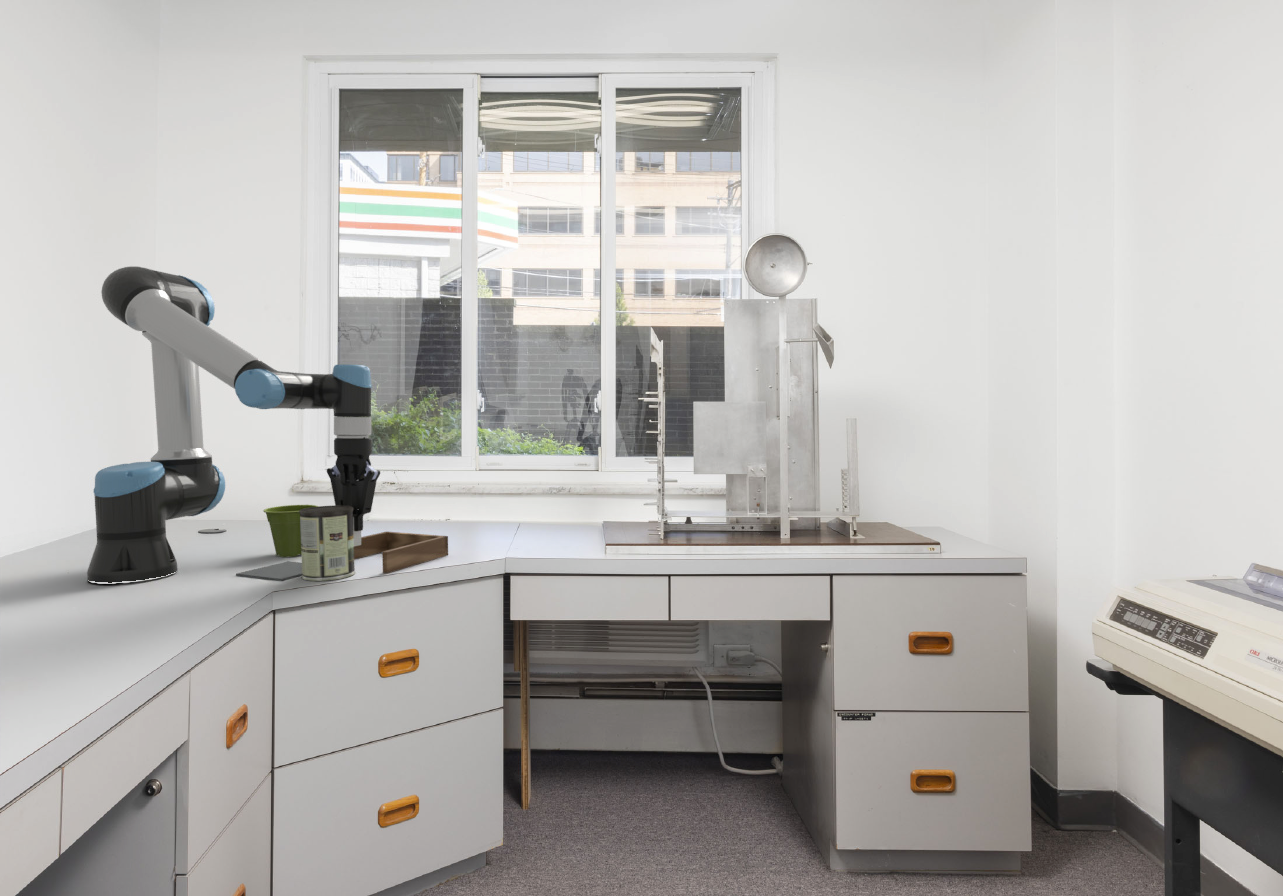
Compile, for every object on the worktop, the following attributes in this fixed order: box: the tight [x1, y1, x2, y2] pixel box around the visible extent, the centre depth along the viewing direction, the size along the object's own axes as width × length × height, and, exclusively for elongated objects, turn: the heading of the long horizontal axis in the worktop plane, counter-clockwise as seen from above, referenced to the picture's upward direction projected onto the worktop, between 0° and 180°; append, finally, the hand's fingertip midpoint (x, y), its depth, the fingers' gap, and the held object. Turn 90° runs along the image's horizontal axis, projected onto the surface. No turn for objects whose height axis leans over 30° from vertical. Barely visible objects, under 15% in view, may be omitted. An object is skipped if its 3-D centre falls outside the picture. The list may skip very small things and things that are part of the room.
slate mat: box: [235, 560, 302, 582], centre depth 151 cm, size 13×13×1 cm
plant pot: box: [262, 504, 319, 558], centre depth 169 cm, size 12×12×11 cm
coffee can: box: [299, 505, 356, 582], centre depth 147 cm, size 10×10×14 cm
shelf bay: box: [354, 531, 449, 574], centre depth 162 cm, size 18×20×4 cm
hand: (353, 545), depth 153 cm, fingers closed
